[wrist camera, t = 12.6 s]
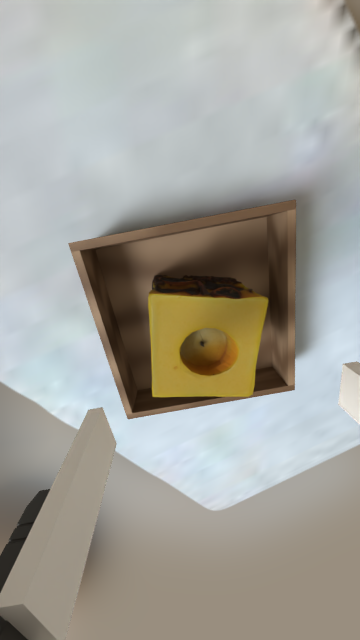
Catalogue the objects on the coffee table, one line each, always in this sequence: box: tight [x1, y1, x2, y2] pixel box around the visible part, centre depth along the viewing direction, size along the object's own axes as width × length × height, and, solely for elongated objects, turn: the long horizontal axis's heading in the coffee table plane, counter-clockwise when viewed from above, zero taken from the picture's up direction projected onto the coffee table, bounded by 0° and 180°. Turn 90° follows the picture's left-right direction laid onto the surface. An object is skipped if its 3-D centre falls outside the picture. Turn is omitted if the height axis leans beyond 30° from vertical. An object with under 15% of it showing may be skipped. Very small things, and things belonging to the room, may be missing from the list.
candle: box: [148, 275, 268, 397], centre depth 23 cm, size 10×10×10 cm
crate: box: [68, 200, 296, 419], centre depth 26 cm, size 22×22×6 cm
